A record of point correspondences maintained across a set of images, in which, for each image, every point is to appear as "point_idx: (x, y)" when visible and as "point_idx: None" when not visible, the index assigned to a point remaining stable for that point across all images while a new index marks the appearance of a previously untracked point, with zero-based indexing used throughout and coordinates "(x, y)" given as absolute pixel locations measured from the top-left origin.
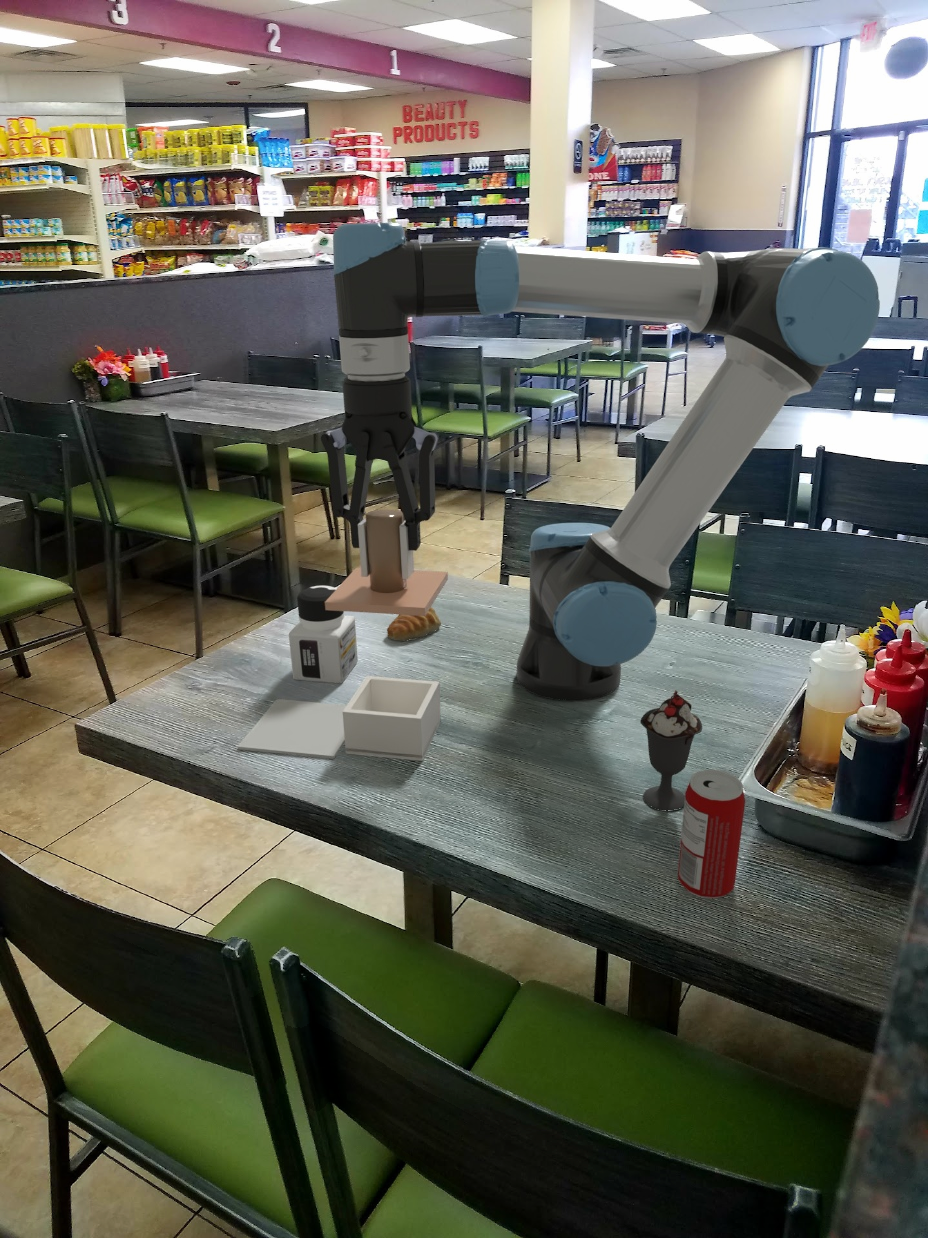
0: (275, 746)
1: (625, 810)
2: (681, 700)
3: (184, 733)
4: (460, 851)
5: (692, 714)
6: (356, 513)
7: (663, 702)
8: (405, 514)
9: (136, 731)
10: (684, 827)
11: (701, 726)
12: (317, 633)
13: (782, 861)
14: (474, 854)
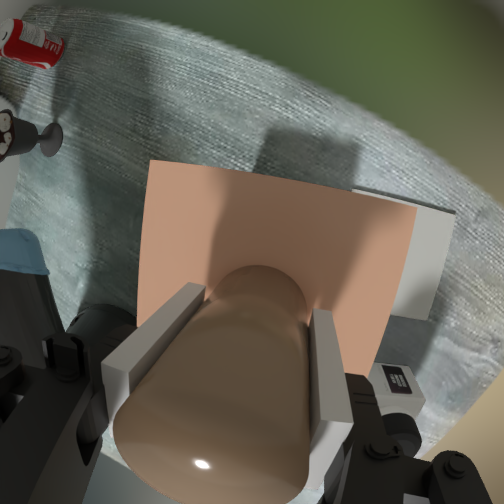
0: (419, 213)
1: (75, 119)
2: None
3: (501, 251)
4: (203, 40)
5: None
6: (362, 469)
7: None
8: (67, 397)
9: None
10: (36, 33)
11: None
12: (392, 401)
13: (17, 88)
14: (191, 39)
